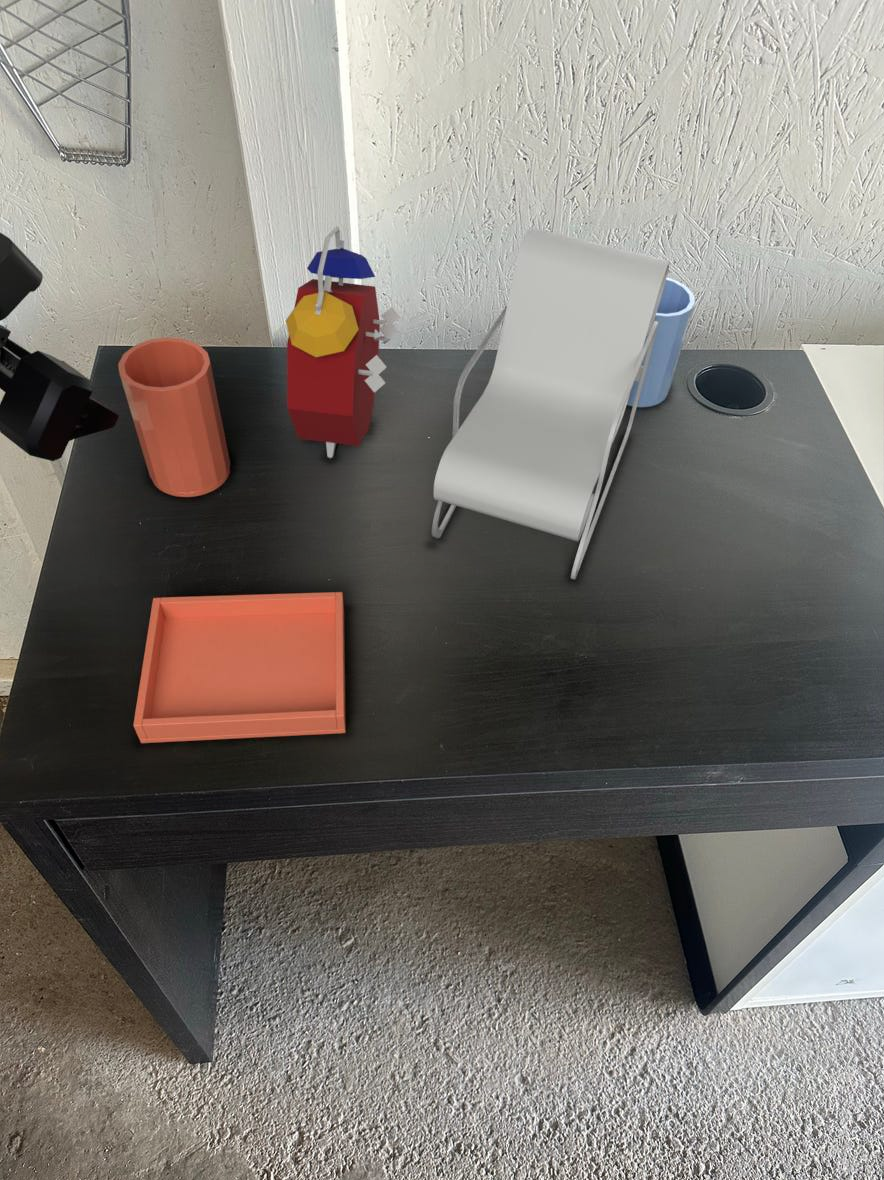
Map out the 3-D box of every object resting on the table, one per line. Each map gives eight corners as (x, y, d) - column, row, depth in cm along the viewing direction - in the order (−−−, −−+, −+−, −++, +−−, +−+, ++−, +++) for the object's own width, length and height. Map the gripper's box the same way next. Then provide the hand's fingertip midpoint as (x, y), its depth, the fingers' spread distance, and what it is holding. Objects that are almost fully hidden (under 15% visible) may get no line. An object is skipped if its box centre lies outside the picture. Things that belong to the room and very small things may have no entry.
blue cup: (637, 416, 94) (661, 324, 86) (587, 381, 97) (606, 289, 89) (681, 390, 98) (709, 299, 89) (632, 357, 101) (654, 267, 92)
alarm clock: (324, 377, 94) (309, 188, 79) (404, 387, 94) (405, 200, 79) (292, 470, 85) (268, 278, 70) (381, 481, 85) (377, 291, 70)
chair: (631, 429, 93) (678, 250, 77) (569, 597, 78) (611, 417, 63) (510, 396, 95) (532, 215, 79) (427, 553, 80) (434, 369, 65)
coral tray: (140, 743, 66) (132, 725, 64) (159, 616, 74) (153, 597, 72) (345, 733, 68) (343, 715, 66) (344, 610, 75) (342, 591, 73)
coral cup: (176, 508, 81) (146, 401, 72) (135, 465, 84) (102, 357, 75) (245, 475, 85) (226, 368, 75) (204, 434, 88) (180, 327, 78)
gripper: (19, 264, 51) (203, 352, 65) (-154, 149, 57) (48, 253, 71) (-57, 436, 53) (137, 485, 67) (-216, 307, 59) (-7, 377, 73)
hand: (78, 394), depth 70 cm, fingers open, 9 cm apart
